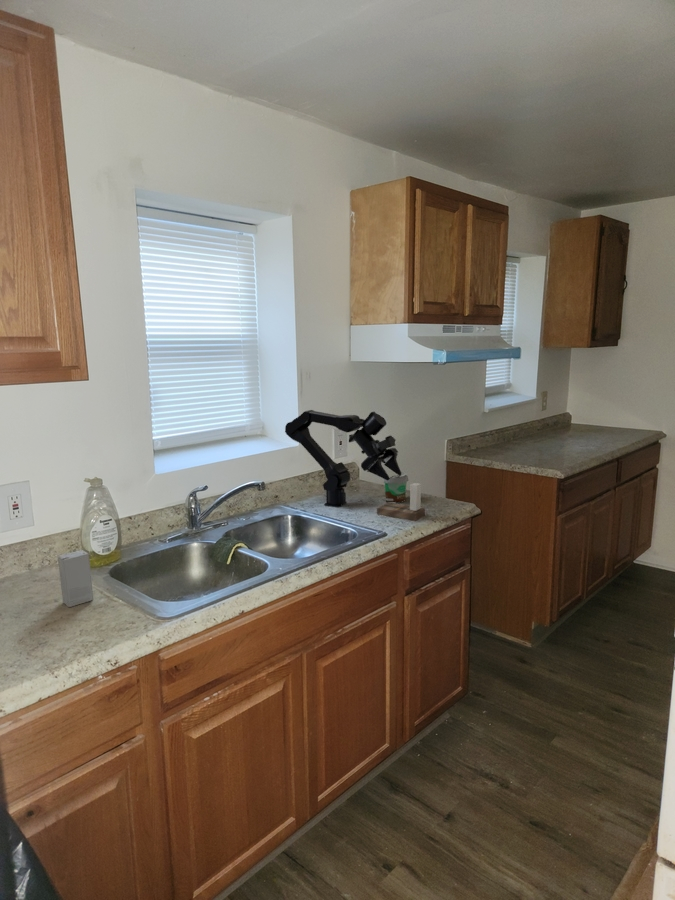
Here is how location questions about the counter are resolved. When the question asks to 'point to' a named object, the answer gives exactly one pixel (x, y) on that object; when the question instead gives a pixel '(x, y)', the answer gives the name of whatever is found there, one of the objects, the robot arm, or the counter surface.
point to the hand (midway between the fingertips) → (394, 476)
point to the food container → (396, 488)
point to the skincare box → (75, 578)
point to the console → (400, 511)
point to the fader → (415, 496)
